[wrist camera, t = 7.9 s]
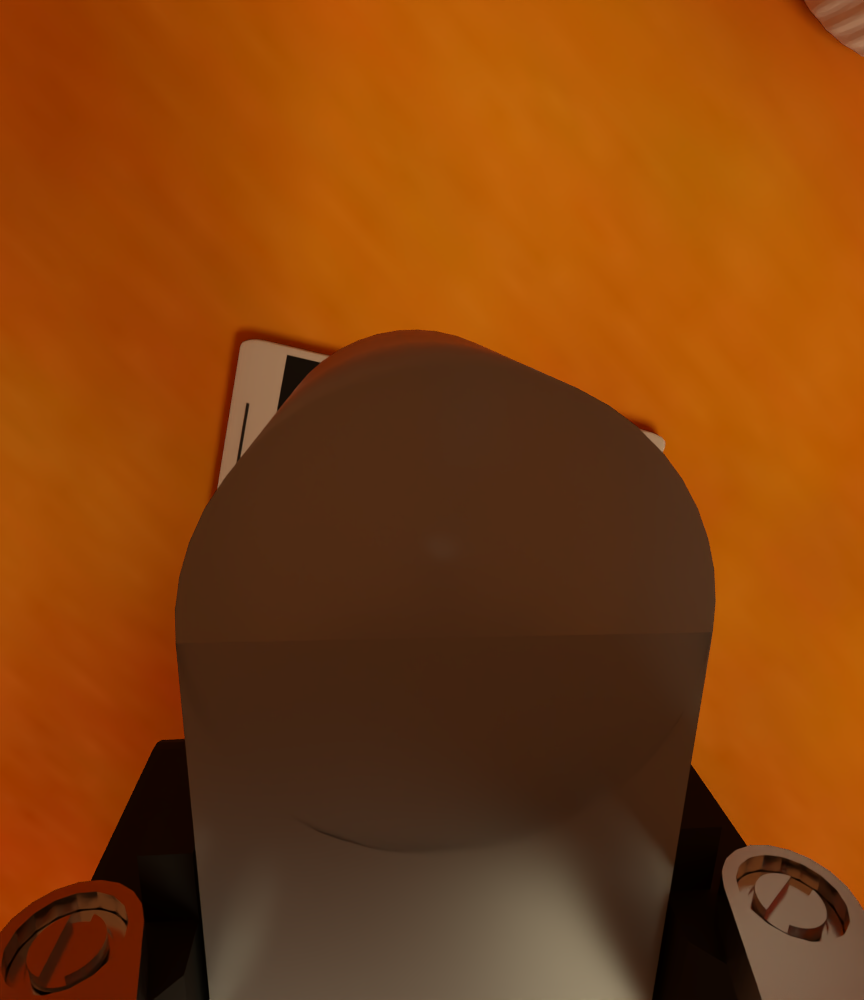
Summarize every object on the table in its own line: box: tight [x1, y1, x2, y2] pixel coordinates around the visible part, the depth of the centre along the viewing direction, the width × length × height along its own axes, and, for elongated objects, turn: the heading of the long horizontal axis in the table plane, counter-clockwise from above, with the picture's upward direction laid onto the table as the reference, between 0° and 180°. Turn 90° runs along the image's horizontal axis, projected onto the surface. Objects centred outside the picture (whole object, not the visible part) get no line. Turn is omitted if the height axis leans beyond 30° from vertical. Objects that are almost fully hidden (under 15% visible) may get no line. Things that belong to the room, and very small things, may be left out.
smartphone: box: [217, 339, 665, 489], centre depth 25 cm, size 7×16×1 cm, turn 76°
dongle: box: [175, 330, 715, 1000], centre depth 9 cm, size 16×4×5 cm, turn 178°
